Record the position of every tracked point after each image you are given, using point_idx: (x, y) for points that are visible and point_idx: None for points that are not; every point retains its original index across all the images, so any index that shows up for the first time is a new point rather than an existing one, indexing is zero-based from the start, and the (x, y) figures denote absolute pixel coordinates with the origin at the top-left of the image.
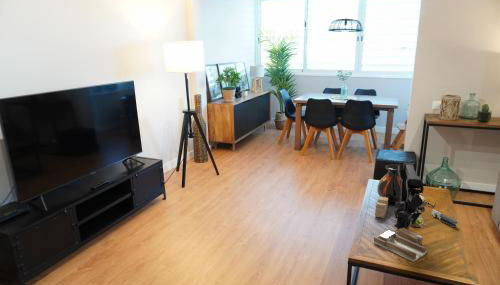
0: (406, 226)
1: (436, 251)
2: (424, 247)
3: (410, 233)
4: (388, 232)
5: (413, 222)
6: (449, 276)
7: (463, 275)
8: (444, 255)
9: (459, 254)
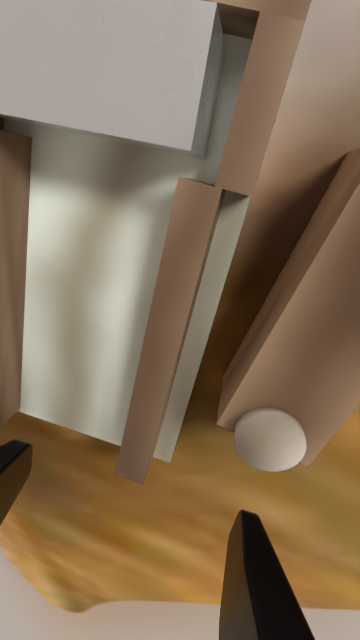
0: (3, 449)
1: (239, 499)
2: (137, 473)
3: (330, 340)
4: (135, 45)
5: (223, 606)
6: (15, 545)
7: (73, 591)
8: (215, 537)
9: None
